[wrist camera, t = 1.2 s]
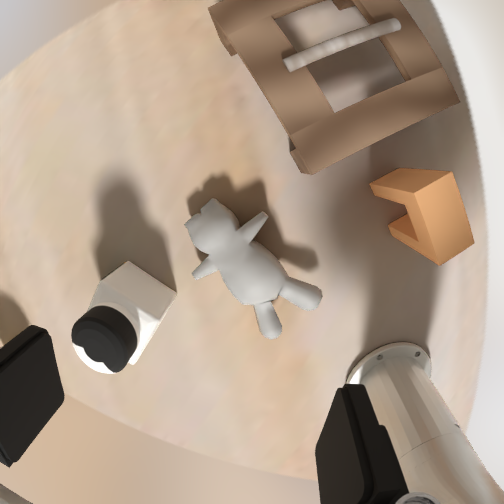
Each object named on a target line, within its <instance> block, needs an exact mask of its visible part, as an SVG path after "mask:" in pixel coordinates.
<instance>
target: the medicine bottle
mask: <svg viewBox="0 0 504 504" xmlns="http://www.w3.org/2000/svg"><path fill="white" fill-rule="evenodd" d="M176 296H177V293H176V292H175V291H173V290H172V289H170V288H169V287H167V286H166V285H164V284H163V283H161V282H160V281H158V280H157V279H155V278H154V277H152V276H151V275H149V274H148V273H146V272H145V271H143V270H142V269H140V268H139V267H137V266H136V265H134V264H133V263H131V262H130V261H126V262H125V263H123V264H122V265H121V266H119V267H118V268H116V269H115V270H114V271H112V272H111V273H110V274H108V275H107V276H106V277H104V278H103V279H102V280H101V281H100V282H99V284H98V287H97V289H96V291H95V294H94V296H93V299H92V301H91V303H90V306H89V308H88V311H87V312H86V313H85V314H84V315H83V316H82V317H81V318H80V319H79V320H78V321H77V322H76V323H75V324H74V326H73V328H72V335H71V336H72V343H73V346H74V349H75V351H76V353H77V354H78V356H79V357H80V358H81V360H82V361H83V362H84V363H85V364H86V365H88V366H89V367H91V368H92V369H94V370H96V371H98V372H102V373H109V374H111V373H117V372H119V371H121V370H122V369H123V368H124V367H125V366H126V364H127V363H128V362H129V363H130V364H132V365H134V364H135V363H136V362H137V360H138V358H139V357H140V355H141V354H142V352H143V350H144V349H145V347H146V346H147V344H148V342H149V341H150V339H151V338H152V336H153V335H154V333H155V331H156V329H157V328H158V326H159V324H160V323H161V321H162V319H163V318H164V316H165V314H166V313H167V311H168V309H169V308H170V306H171V304H172V303H173V301H174V299H175V298H176Z"/></svg>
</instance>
